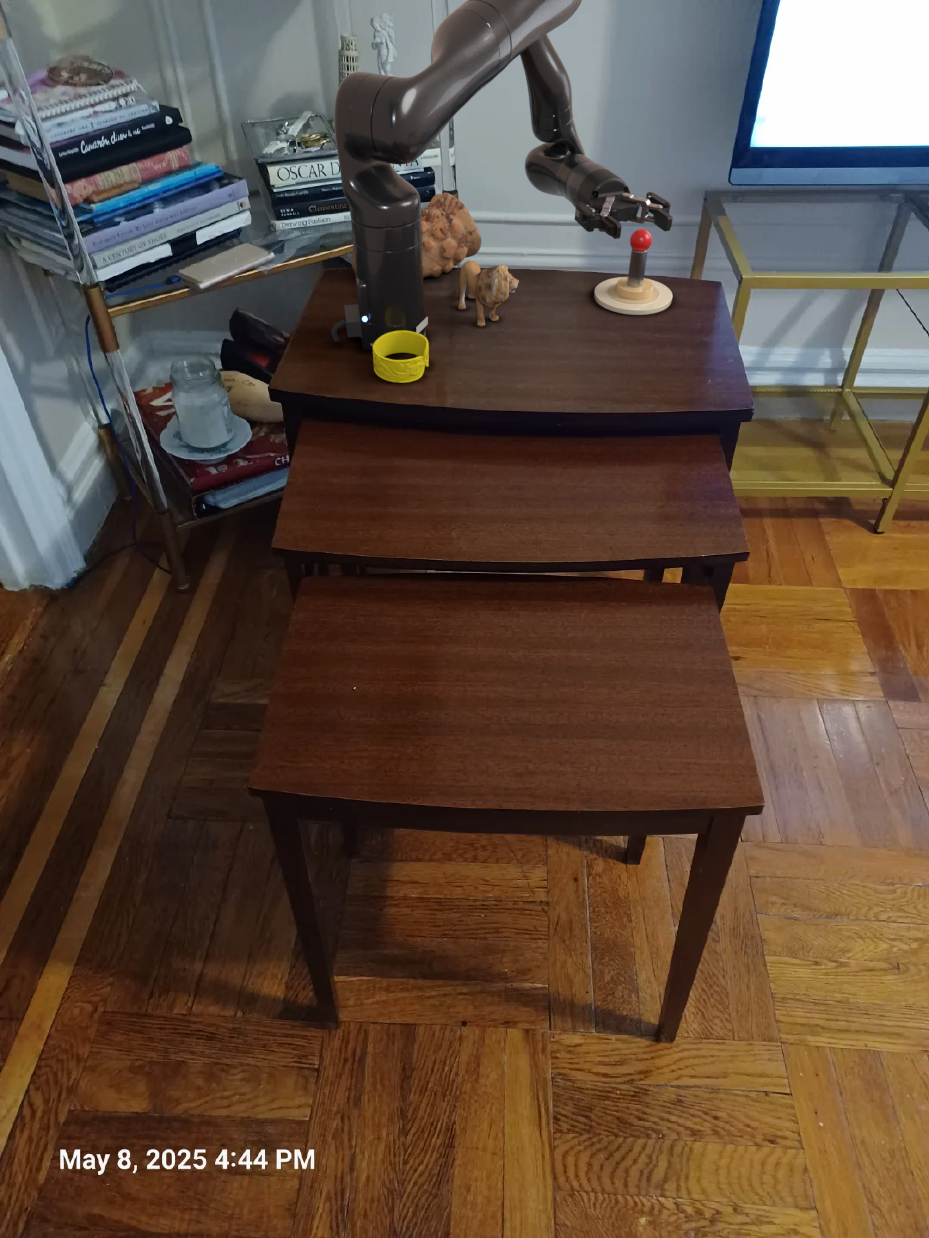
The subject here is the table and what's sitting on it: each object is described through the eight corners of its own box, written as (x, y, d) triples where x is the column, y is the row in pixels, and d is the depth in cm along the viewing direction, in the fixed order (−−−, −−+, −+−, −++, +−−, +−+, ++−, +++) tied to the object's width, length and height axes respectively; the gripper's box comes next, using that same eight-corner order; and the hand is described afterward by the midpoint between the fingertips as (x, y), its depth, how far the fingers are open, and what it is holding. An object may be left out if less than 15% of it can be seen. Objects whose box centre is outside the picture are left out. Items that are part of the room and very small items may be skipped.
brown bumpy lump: (464, 316, 144) (491, 237, 147) (458, 279, 134) (488, 194, 136) (356, 289, 147) (385, 211, 149) (343, 250, 136) (374, 167, 139)
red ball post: (639, 303, 134) (648, 240, 127) (608, 293, 136) (615, 230, 130) (659, 290, 137) (668, 228, 130) (628, 281, 140) (636, 219, 133)
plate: (605, 317, 132) (605, 312, 132) (585, 284, 141) (586, 278, 140) (682, 312, 134) (683, 306, 133) (658, 279, 142) (659, 273, 142)
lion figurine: (521, 327, 130) (524, 266, 124) (491, 336, 128) (493, 275, 122) (466, 291, 139) (466, 233, 133) (437, 299, 137) (436, 241, 131)
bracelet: (365, 377, 119) (364, 355, 117) (386, 347, 125) (385, 326, 122) (416, 387, 118) (416, 365, 116) (435, 356, 123) (435, 335, 121)
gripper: (558, 173, 140) (604, 209, 129) (638, 163, 144) (689, 196, 133) (555, 222, 145) (599, 260, 135) (632, 211, 149) (681, 247, 138)
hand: (644, 228), depth 134 cm, fingers open, 8 cm apart
